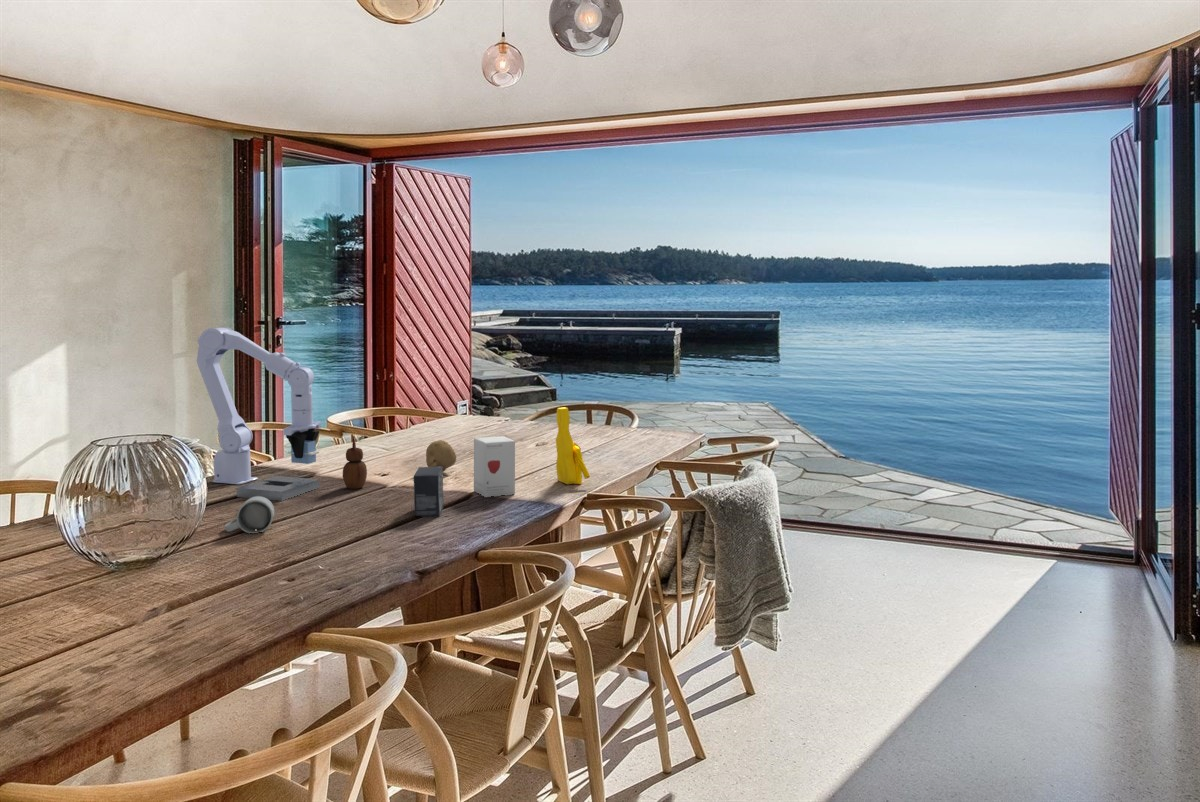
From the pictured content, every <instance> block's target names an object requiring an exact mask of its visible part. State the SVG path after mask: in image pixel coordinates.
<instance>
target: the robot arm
mask: <svg viewBox="0 0 1200 802" xmlns="http://www.w3.org/2000/svg"><path fill="white" fill-rule="evenodd" d="M197 344H198V348H197V349H198V350H197V357H196V364H197V367H198V369H199V372H200V374H201V378H202V379H203V383H204V385H205V388H206V391H207V392H208V395H209V397H210V398H209V399H210V401H211V404H212V406H213V410H214V411H215V415H216V417H217V419H218V424H217V428H216V429H217V433H218V443H219V446H220V448H221V449H220V450H218V451H217V452H216V453H215V455H214V458H213V471H214V472H213V473H214V477H213V478H214V479H213V480H212V482H213V483H217V484H218V483H220V484H230V485H243V484H246V483H250V482H252V481H256V480H258V479H259V478H258V476H252V470H251V469H252V467H251V447H250V444H251V443H252V441H253V431H252V429H251V428H250V427H248V426H247V425H246V422H245V420H244V419H243V418H242V416H240V415H239V413H238V411H237V409H236V406H235V402H234V399H233V397H232V395H231V392H230V390H229V389H230V388H229V387H228V384H227V381H226V379H225V377H224V373H223V371H222V368H221V365H220V361H221V359H222V358H223V356H224V355H225V353H227V351H229V350H236V351H237V350H239V351H241V352H242V353H244V354H246V355H248V356H250V357H252V358H254V359H256V360H258V361H260V362H262V363H264V366H265V369H266V370H267V371H268V372H271V373H272V374H274V375H275V376H277V377H279V378H281V379H282V380H284V381H287V383H288V384H289V386H290V390H291V391H290V392H291V393H290V400H291V401H290V402H291V403H290V404H291V405H290V406H291V424H290V425H288V426H287V427H284V428H283V436H285V438H287V440H288V442H289V443H290V447H291V446H292V449H293V452H294V456H295V458H303V450H304V442H305V440H308V441H316V440H317V438H318V436H319V435H320V430H319V429H322V428H321V427H322V424H321V422H322V421H320V420H319V421H314V412H313V411H314V408H313V404H314V403H313V383H314V381H315V373H314V371H313V370H312V369H311V367H309V366H307V365H301V363H300V362H299V361H297V362H296V361H293V360H292V359H291V358H289V357H287V355H286V353H285V352H277V351H275V352H273V353H271V352H270V351H268V350H266V349H265V348H263V347H262V346H260V345H259V344H257V343H255V342H254V341H252V340H251V339H249V338H248V337H246V336H245V335H243V334H241V333H240V332H238V331H236V330H232V329H231V328H230V327H227V326H222V327H221V326H220V327H216V328H215V327H209V328H207V329H204V331H202V333H201V334H200V336H199V337H198V339H197Z"/></svg>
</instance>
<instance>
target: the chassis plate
mask: <svg viewBox="0 0 1200 802" xmlns="http://www.w3.org/2000/svg"><path fill="white" fill-rule="evenodd" d="M317 488H318V489H320V480H319V479H315V478H306V477H305V478H304V477H294V476H292V477H291V476H280V475H275V476H271V477H268V478H265V479H262V481H260V480H259V481H255V482H251V483H248V484H245V485H241V486H238V487H236V497H237V498H242V497H244V498H243V499H250V498H252V497H256V496H261V497H265V498H267V499H268V500H269V501H275V500H278V501H279V502H283V500H284V501H286V500H285V499H287V500H289V499H288V498H290V499H292V498H294V496H295V497H298V496H300V494H301V495H304V494H306V493H305V492H307V493H309V492H308V491H310V492H312V491H311V490H313V491H315V490H314V489H316V490H318V489H317ZM303 493H304V494H303ZM297 495H298V496H297ZM291 497H292V498H291Z"/></svg>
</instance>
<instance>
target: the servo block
mask: <svg viewBox="0 0 1200 802" xmlns="http://www.w3.org/2000/svg"><path fill="white" fill-rule="evenodd" d="M316 444H317V443H316V440H315V441H308V440H305V442H304V450H303V458H295V456H294V452H293V449H292V446H291V445H290V450H288V451H287V454H291V455H290V456H291V461H290V462H291V463H294V464H295V463H296V464H304V465H305V464H306V465H310V464H313V463H317V454H320V450H317V445H316Z"/></svg>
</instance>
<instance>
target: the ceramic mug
mask: <svg viewBox="0 0 1200 802" xmlns="http://www.w3.org/2000/svg"><path fill="white" fill-rule="evenodd" d="M274 516H275V506H274V504H273V503H272V501H271V500H268V499H267V498H265V497H261V496H256V497H252V498H247V500H245V501H244V502H243V503H242V504H241V506H240V507H239V508H238V510H237V512H236V518H234V519H233V520H230V521H229V522H227V523H226V524H225V525H224V527H223V528H224V529H225V531H226V532H227V533H230V532H233V531H235V530H237V529H240V530H241V531H243V532H245V533H247V534H250V533H258V532H262V533H263V532H265V531H266V530H268V529H269V528H270V526H271V524H272V522H273V520H274ZM255 529H257V531H255ZM258 534H259V533H258Z"/></svg>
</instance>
